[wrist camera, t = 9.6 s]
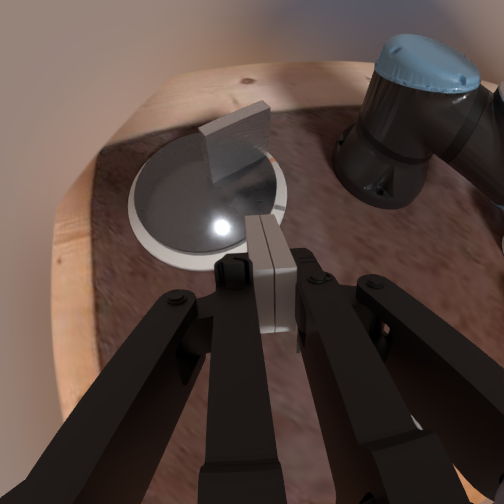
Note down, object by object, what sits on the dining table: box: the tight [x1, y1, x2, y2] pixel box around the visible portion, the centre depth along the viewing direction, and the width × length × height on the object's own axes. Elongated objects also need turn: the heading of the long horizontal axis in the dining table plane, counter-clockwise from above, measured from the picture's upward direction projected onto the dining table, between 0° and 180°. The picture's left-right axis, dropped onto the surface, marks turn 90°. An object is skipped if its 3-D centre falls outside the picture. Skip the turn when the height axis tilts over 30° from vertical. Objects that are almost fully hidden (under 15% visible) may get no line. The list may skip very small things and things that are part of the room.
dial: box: [134, 100, 277, 256], centre depth 35 cm, size 19×19×10 cm
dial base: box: [128, 152, 287, 272], centre depth 41 cm, size 22×22×1 cm
